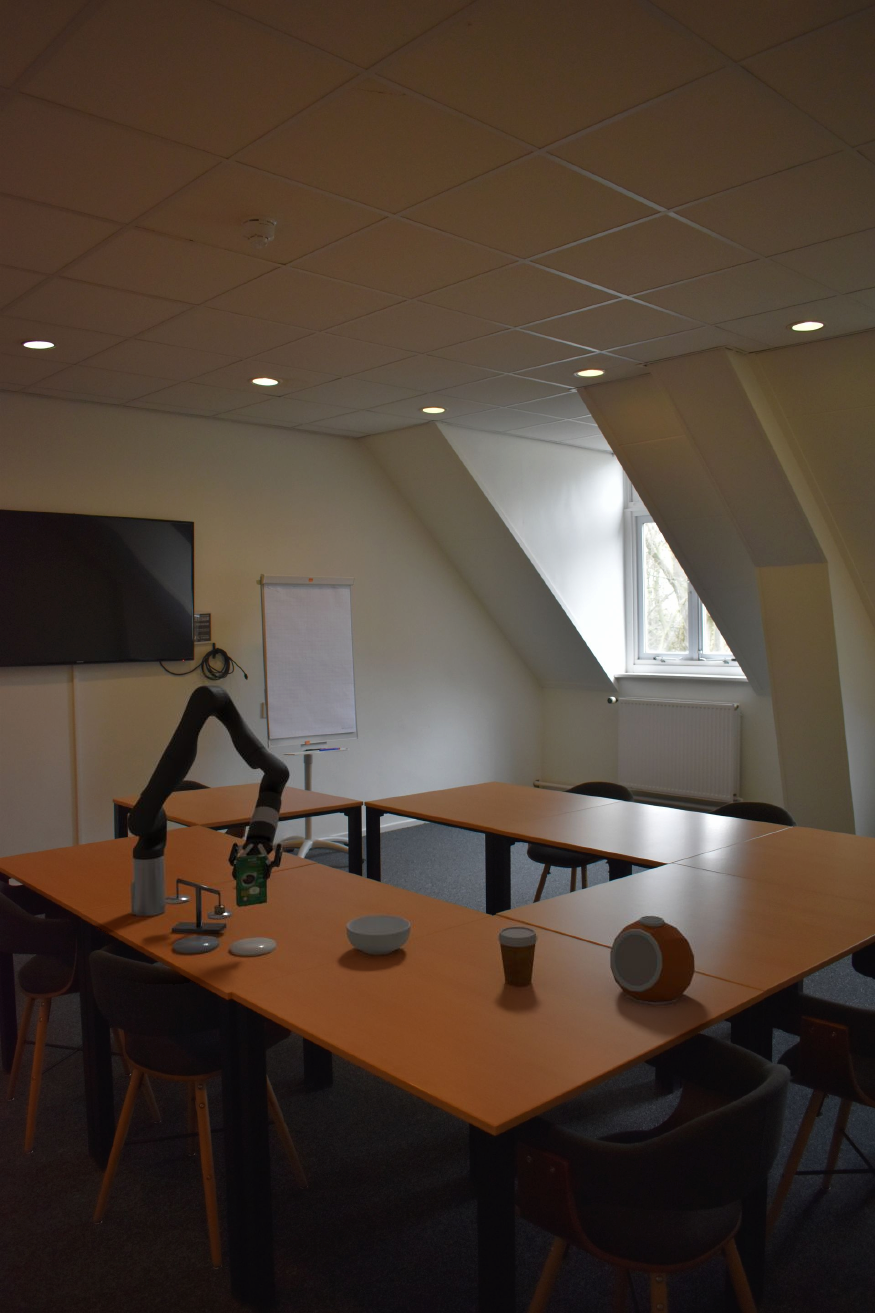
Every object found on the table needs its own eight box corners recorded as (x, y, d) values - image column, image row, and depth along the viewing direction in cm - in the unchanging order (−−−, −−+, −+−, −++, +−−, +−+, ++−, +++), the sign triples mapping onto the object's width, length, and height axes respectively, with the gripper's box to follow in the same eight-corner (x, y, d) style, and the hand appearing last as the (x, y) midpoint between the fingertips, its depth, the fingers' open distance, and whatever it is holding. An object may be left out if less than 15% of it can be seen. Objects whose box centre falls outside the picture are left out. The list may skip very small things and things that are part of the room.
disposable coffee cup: (513, 971, 232) (512, 923, 231) (545, 980, 226) (545, 930, 225) (490, 983, 224) (489, 933, 224) (523, 992, 218) (522, 941, 218)
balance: (161, 932, 267) (160, 881, 266) (171, 925, 274) (170, 874, 273) (227, 934, 264) (226, 882, 264) (236, 927, 271) (235, 876, 271)
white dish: (223, 955, 247) (223, 951, 247) (239, 940, 259) (239, 937, 259) (267, 957, 245) (267, 953, 245) (281, 942, 257) (281, 938, 257)
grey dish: (166, 953, 249) (165, 949, 249) (184, 938, 261) (184, 935, 261) (209, 955, 248) (209, 951, 248) (225, 940, 259) (225, 936, 259)
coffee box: (264, 900, 255) (263, 852, 255) (268, 903, 253) (267, 854, 252) (235, 905, 251) (234, 856, 251) (239, 908, 249) (237, 858, 248)
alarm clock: (595, 993, 217) (594, 919, 217) (637, 973, 229) (637, 903, 229) (668, 1016, 203) (667, 937, 203) (709, 994, 216) (708, 919, 215)
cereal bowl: (353, 964, 239) (352, 936, 239) (341, 943, 255) (341, 918, 255) (417, 957, 243) (417, 930, 243) (402, 937, 259) (402, 912, 259)
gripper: (234, 819, 260) (220, 871, 249) (284, 819, 258) (272, 872, 247) (242, 834, 265) (228, 885, 254) (290, 834, 263) (279, 887, 252)
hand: (249, 879), depth 250 cm, fingers closed on coffee box, 8 cm apart
